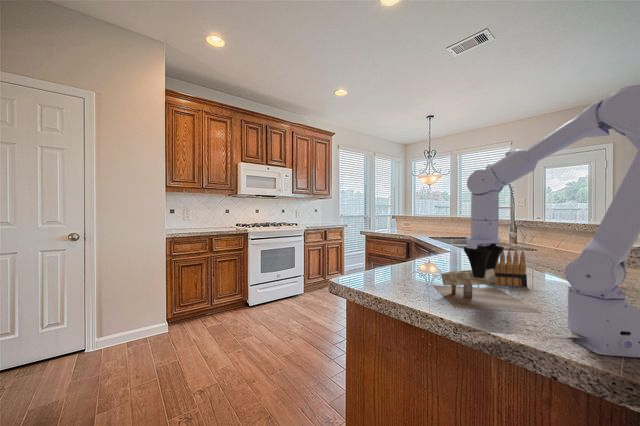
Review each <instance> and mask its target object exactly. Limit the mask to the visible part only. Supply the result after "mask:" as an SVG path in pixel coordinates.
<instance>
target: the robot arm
mask: <svg viewBox="0 0 640 426" xmlns="http://www.w3.org/2000/svg"><path fill="white" fill-rule="evenodd" d="M609 130H613V131H615V132H616V133H618V134H620V135H622V136H624V137H626V139H628V140H629V142H630V143H631V144H632V145H633V146H634V147H635V148H636V149H637V153H636V154H635V157H634V158H633V160H632V162H631V164H630V166H629V168H628V170H627V171H626V173H625V176H624V177H623V180H622V181H621V183H620V185H619V187H618V189H617V191H616V193H615V194H614V197H613V198H612V200H611V203H610V204H609V206H608V208H607V209H606V211H605V214H604V216H603V218H602V220H601V222H600V223H599V225H598V227H597V229H596V231H595V233H594V235H593V237H592V238H591V240H590V241H589V242H588V243H587V245H586V246H585V247H584V248H583V250H582V251H581V253H580V255H579V256H578V257H576V258H575V259H574V260H572V261H570V262H569V263H568V264H566V267H565V269H564V276H565V278H566V281H567V282H568V283H569V285H567V287H568V288H567V329H568V330H569V331H571V332H572V333H575V334H577V335H579V336H581V337H574V336H573V337H572V336H570V337H568V338H569V339H571V340H573V341H574V342H576V343H577V344H580V345H581V346H583V347H584V348H586V349H587V350H589V351H591V352H593V353H594V354H597V355H599V356H601V355H602V356H616V357H630V358H640V308H639V307H637V306H636V305H633V304H631V303H630V302H629V301H628V299H627V298H626V297H627V295H626V292H625V291H624V290H623V289H622V288H621V287H620V286H619V285H621V284H622V283H623V282H625V280H626V278H627V276H628V275H627V268H626V264H627V261H628V259H629V257H630V255H631V251H632V249H633V247H634V244H635V243H636V241H637V239H638V237H639V235H640V84H633V85H628V86H625V87H620V88H618V89H617V90H615V91H613V92H612V93H610V94H609V95H607V96H606V98H604V100H602V99H600V100H598V101H596V102H594V103H592V104H591V105H590V106H588V107H586V109H584V110H583V111H582V112H580V113H579V114H578V115H576V116H575V117H574V118H572V119H570V120H569V121H568V122H566V123H564V124H563V125H561V126H560V127H559V128H557V129H555V130H554V131H553V132H551V133H549V134H548V135H547V136H545V137H544V138H541V140H539V141H538V142H536V143H534V144H533V145H531V147H529V148H527V149H520V148H518V149H515V150H514V151H513V150H508V151H507V152H505V156H504V157H503V158H501V159H499V160H497V162H495V163H493V164H488V165H486V166H485V169H476V170H474V171H473V173H470V175H469V176H468V178H467V180H466V181H467V182H466V187H467V189H468V190H469V192H470V193H471V200H470V206H471V207H470V236H466V237H465V240H466V242H465V243H466V245H465V246H463V251H464V253H465V255H466V257H467V258H468V261H469V264H470V267H471V269H470V270H472V273H473V276H474V277H477V278H484V276H485V272H486V269H494V271H495V267H496V264H497V261H498V259H500V255H501V253H502V251H504V249H505V246H502V245H501V237H500V236H499V217H500V216H499V215H500V213H499V212H500V209H499V207H500V204H499V203H500V201H499V200H500V196H499V195H500V192H502V190H503V189H504V187H505V186H506V187H507V185H510V184H511V183H513V182H515V181H517V180H519V179H521V178H522V177H524V176H526V175H528V174H529V173H532V172H533V171H535V170H536V167H537V165H538V162H539V161H541V160H544V159H546V158H547V157H549V156H552V155H553V154H555V153H558V152H559V151H561V150H563V149H565V148H567V147H569V146H570V145H573V144H574V143H577V142H578V141H580V140H583V139H585V138H594V137H607V136H608V137H609V136H610V131H609Z"/></svg>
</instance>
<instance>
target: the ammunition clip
mask: <svg viewBox="0 0 640 426" xmlns="http://www.w3.org/2000/svg"><path fill="white" fill-rule="evenodd" d="M518 253H519V252H518V251H517V250H515V251H514V253H513V259H512V253H511V251H510V250H508V251H507V253H506V254H507V255H506V256H505V251H504V250H503V251H502V253H501V254H500V256H499V258H498V261H497V264H496V267H495V271H494V272H495V276H496V280H497V281H496V282H493V283H491V284H490V285H496V286H500V285H501V286H511V287H512V286H514V287H515V286H516V287H523V288H526V287H527V288H528V276H527V264H526V255H525V252H524V250H522V251H521V253H520V258H519V254H518Z"/></svg>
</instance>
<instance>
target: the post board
mask: <svg viewBox="0 0 640 426" xmlns="http://www.w3.org/2000/svg"><path fill="white" fill-rule="evenodd" d="M432 287H433V288H434V289H435V290H436V292H438V293H439V294H440V295H441V296H442V297H443V298H444V299H445V300H446V301H447V302H448V303H449V305H451V306H452V307H453V308H455V309H469V310H470V309H471V310H484V311H485V310H487V311H503V312H505V311H506V312H518V313H519V312H521V313H537V314H539V313H540V314H541V313H542V311H540V310H538V309H536V308H535V307H533V306H531V305H529V304H527V303H525V302H523V301H521V300H520V299H517V298H516V297H514V296H512V295H510V294H509V293H506V292H505V291H503V290H502V289H499V288H497V287H477V286H476V287H475V286H473V285H462V286H459V285H433V284H432Z"/></svg>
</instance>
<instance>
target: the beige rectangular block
mask: <svg viewBox="0 0 640 426" xmlns="http://www.w3.org/2000/svg"><path fill="white" fill-rule="evenodd" d="M440 275H441V280H442V286H452V285H456V286H464V285H472V286H476V285H478V286H480V285H483V286H485V285H492V284H491V283H493V282H496V281H497V280H496V276H495V272H494V269H486V272H485V276H484V278H477V277H474V276H473V273H472V269H467V270H466V269H465V270H452V271H451V270H449V271H448V272H444V273H440Z"/></svg>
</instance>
